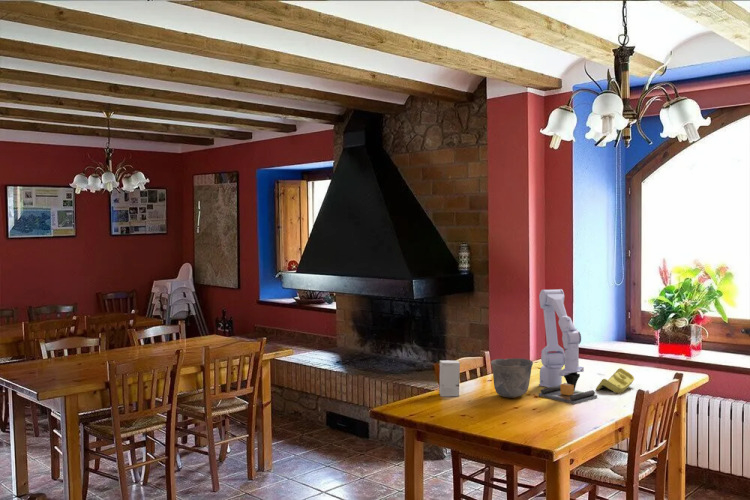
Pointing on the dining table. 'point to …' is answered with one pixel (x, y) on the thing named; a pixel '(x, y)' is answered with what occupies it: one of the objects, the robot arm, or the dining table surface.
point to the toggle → (566, 389)
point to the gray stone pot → (511, 376)
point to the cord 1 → (550, 389)
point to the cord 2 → (582, 395)
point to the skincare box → (449, 378)
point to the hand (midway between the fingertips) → (571, 390)
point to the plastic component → (617, 381)
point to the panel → (566, 397)
